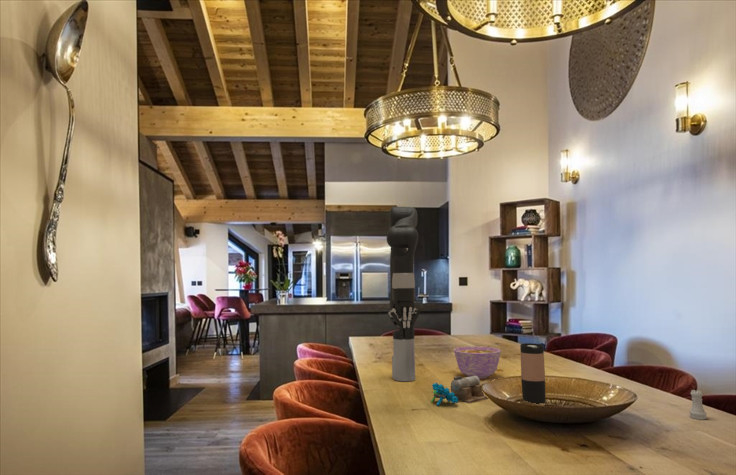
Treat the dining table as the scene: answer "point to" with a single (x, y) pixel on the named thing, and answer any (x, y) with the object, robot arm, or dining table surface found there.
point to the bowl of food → (477, 360)
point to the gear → (443, 394)
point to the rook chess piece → (697, 406)
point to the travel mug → (533, 372)
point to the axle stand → (467, 389)
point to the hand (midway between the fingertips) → (404, 339)
